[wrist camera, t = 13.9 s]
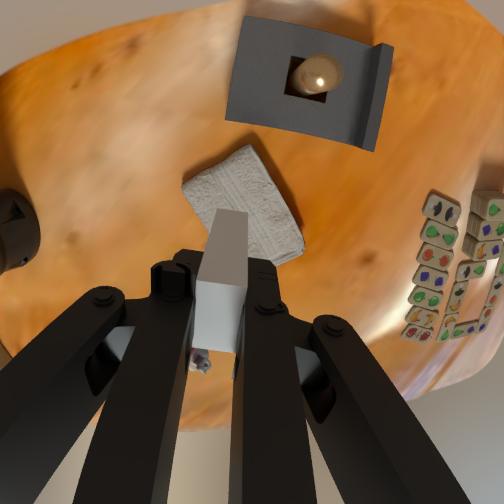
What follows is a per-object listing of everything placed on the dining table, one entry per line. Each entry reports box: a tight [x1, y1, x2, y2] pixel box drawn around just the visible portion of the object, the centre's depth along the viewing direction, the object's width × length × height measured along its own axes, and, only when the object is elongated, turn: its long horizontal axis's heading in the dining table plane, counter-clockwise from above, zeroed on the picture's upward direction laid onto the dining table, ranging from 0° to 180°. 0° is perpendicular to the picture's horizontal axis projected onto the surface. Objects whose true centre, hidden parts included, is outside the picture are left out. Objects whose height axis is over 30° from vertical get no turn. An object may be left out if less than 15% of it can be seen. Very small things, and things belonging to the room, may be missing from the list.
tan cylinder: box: [288, 53, 343, 96], centre depth 30 cm, size 4×4×12 cm
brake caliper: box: [189, 346, 211, 374], centre depth 51 cm, size 11×11×12 cm
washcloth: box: [181, 143, 305, 266], centre depth 43 cm, size 12×18×3 cm, turn 30°
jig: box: [225, 16, 394, 152], centre depth 32 cm, size 18×14×7 cm
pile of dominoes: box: [401, 190, 504, 344], centre depth 47 cm, size 35×27×6 cm
